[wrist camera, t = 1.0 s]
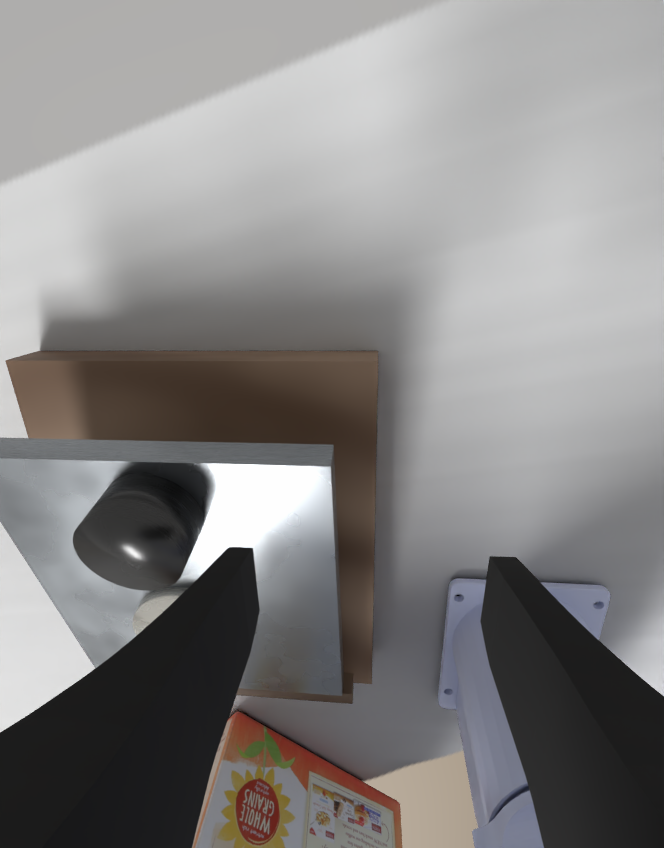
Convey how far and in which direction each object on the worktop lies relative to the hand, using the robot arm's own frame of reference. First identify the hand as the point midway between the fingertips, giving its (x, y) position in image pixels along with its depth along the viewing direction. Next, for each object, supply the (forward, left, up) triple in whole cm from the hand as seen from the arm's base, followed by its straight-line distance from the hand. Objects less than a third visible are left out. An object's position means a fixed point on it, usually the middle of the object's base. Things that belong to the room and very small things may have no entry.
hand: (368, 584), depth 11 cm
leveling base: (-5, +8, -10) cm, 14 cm away
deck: (-6, +8, -6) cm, 12 cm away
